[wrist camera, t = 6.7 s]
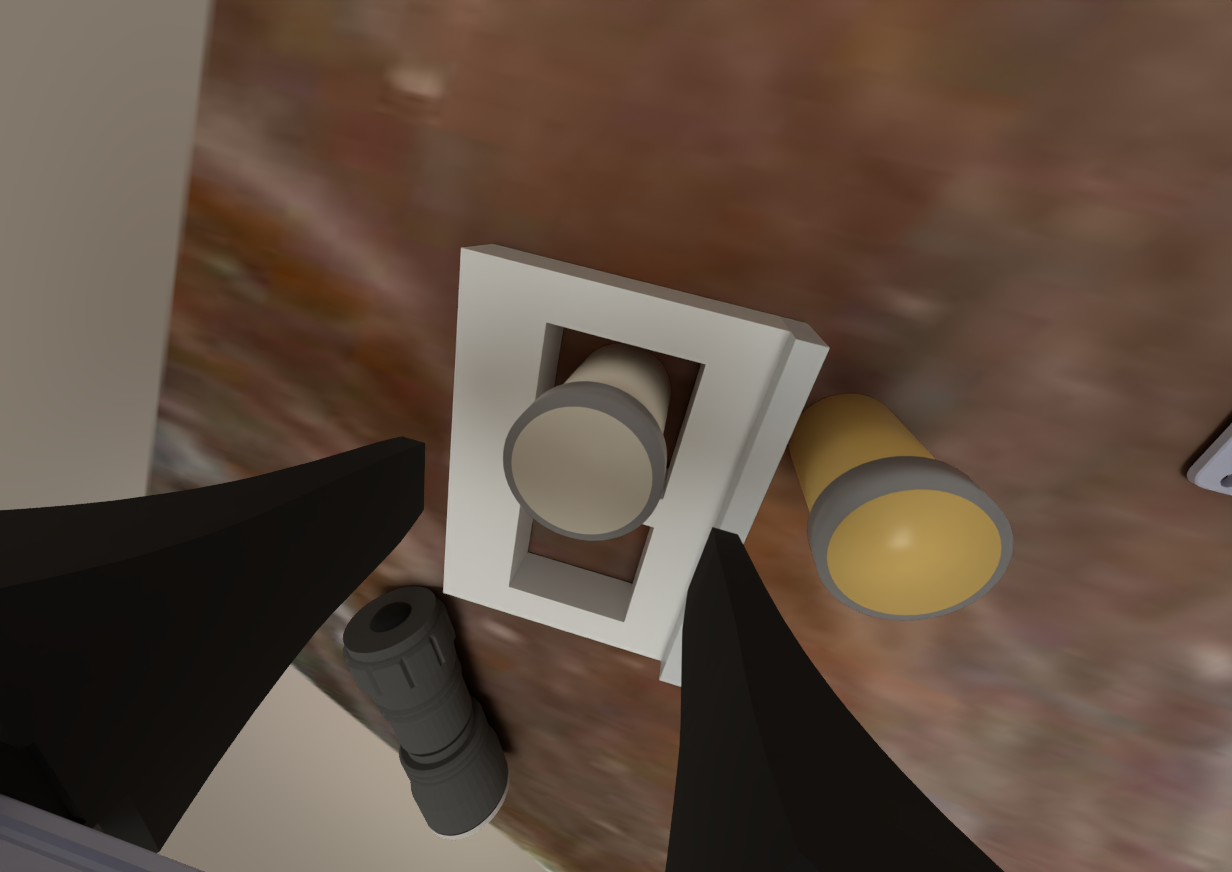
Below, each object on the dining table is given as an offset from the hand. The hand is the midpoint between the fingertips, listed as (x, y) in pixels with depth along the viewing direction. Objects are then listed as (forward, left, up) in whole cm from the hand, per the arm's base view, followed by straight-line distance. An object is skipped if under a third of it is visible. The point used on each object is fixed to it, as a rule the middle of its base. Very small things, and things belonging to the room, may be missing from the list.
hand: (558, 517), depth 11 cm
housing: (0, +4, -9) cm, 9 cm away
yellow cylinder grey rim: (-9, 0, -9) cm, 13 cm away
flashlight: (+6, +22, -9) cm, 24 cm away
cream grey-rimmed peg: (0, 0, -9) cm, 9 cm away
